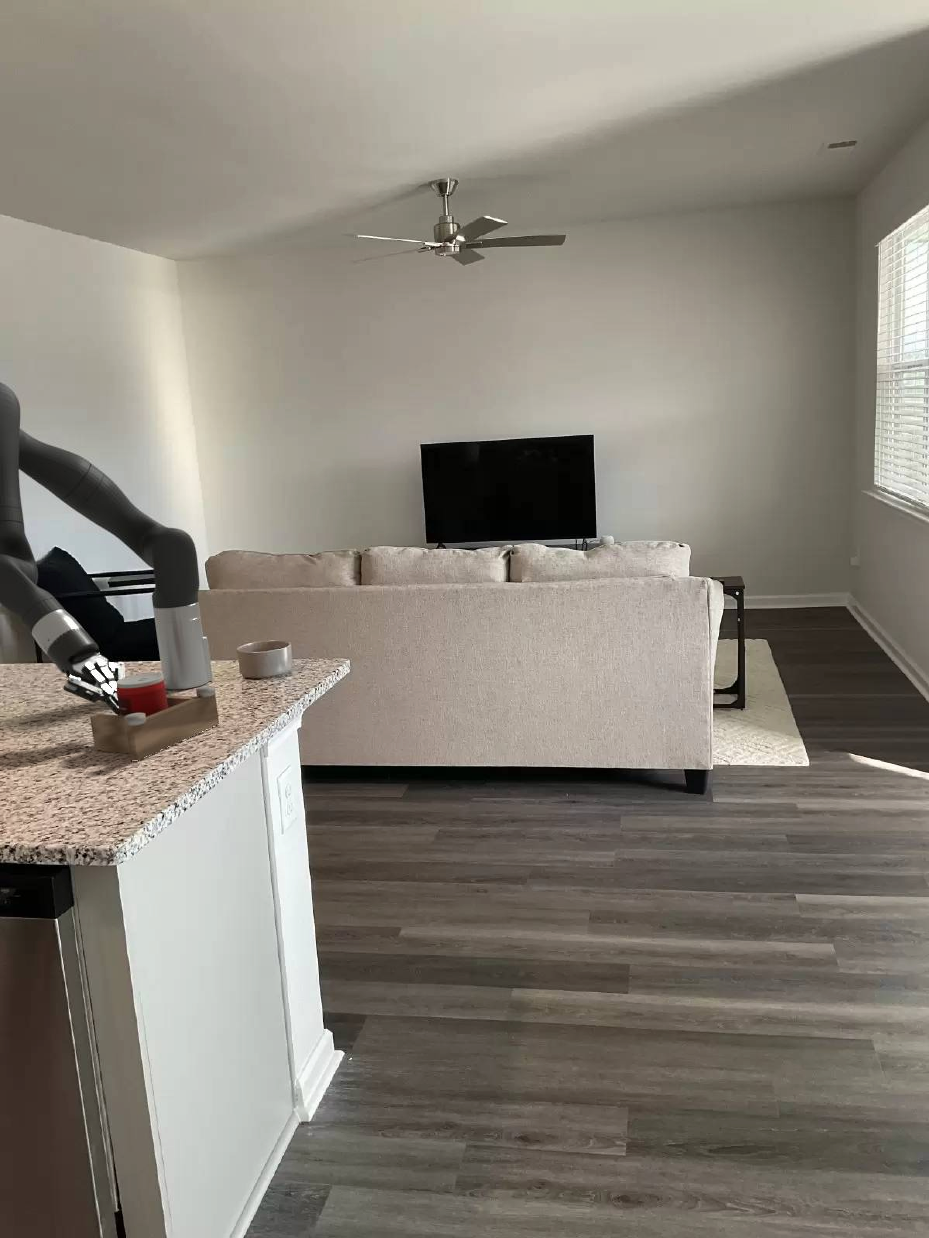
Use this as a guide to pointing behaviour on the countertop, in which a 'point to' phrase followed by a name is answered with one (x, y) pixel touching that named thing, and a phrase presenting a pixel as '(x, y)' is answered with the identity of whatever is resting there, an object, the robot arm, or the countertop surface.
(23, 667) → the countertop surface
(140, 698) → the canned food
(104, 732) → the bracket
